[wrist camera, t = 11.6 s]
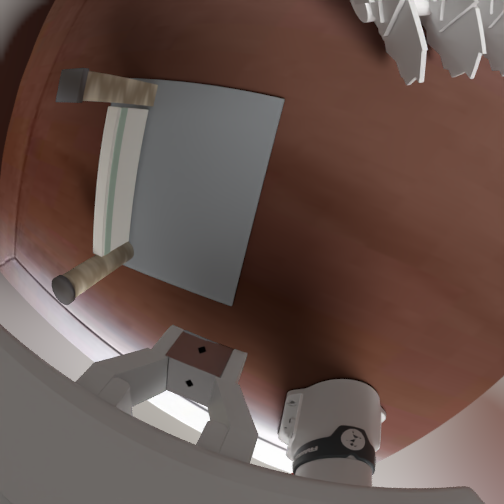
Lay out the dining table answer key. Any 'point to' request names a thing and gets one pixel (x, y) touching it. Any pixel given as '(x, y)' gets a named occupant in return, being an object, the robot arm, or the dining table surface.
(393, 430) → the dining table surface
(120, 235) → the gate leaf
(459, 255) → the dining table surface
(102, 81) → the gate posts
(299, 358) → the dining table surface
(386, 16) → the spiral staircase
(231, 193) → the mat
